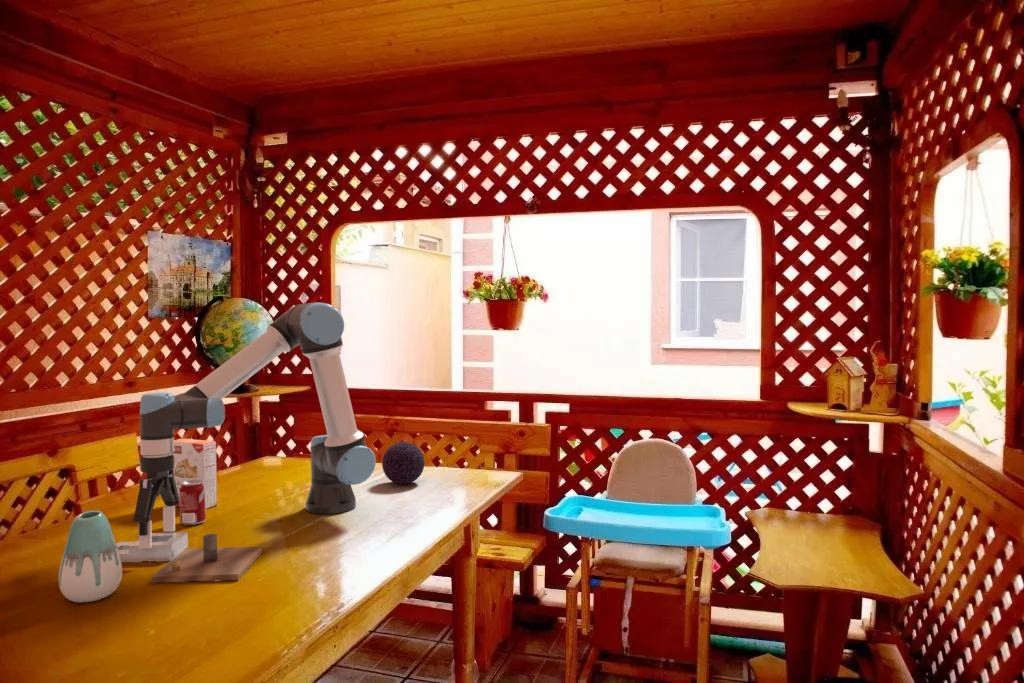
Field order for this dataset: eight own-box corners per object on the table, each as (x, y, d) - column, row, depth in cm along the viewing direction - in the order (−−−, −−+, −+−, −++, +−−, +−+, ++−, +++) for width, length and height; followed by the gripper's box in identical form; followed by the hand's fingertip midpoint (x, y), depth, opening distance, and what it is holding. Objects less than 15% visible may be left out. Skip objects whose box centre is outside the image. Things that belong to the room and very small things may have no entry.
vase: (76, 612, 139) (74, 524, 139) (48, 600, 145) (46, 516, 145) (133, 593, 149) (132, 510, 148) (105, 582, 155) (103, 503, 155)
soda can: (195, 527, 196) (194, 485, 196) (174, 526, 197) (173, 484, 197) (210, 520, 203) (209, 480, 202) (190, 519, 204) (189, 479, 204)
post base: (262, 552, 175) (262, 523, 174) (238, 580, 156) (238, 547, 155) (185, 554, 173) (184, 524, 173) (151, 583, 154) (150, 550, 154)
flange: (187, 547, 179) (187, 532, 179) (171, 561, 169) (171, 544, 169) (119, 549, 177) (119, 534, 177) (99, 563, 167) (99, 546, 167)
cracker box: (168, 506, 218) (167, 440, 217) (183, 501, 224) (182, 437, 223) (203, 510, 213) (202, 443, 213) (218, 505, 219) (216, 440, 218)
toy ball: (374, 486, 243) (373, 444, 242) (396, 477, 257) (395, 437, 256) (411, 490, 237) (411, 447, 237) (432, 480, 251) (431, 439, 251)
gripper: (163, 446, 185) (163, 525, 185) (116, 465, 160) (117, 556, 160) (192, 446, 185) (192, 524, 186) (150, 464, 160) (150, 555, 161)
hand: (157, 539), depth 173 cm, fingers open, 13 cm apart
